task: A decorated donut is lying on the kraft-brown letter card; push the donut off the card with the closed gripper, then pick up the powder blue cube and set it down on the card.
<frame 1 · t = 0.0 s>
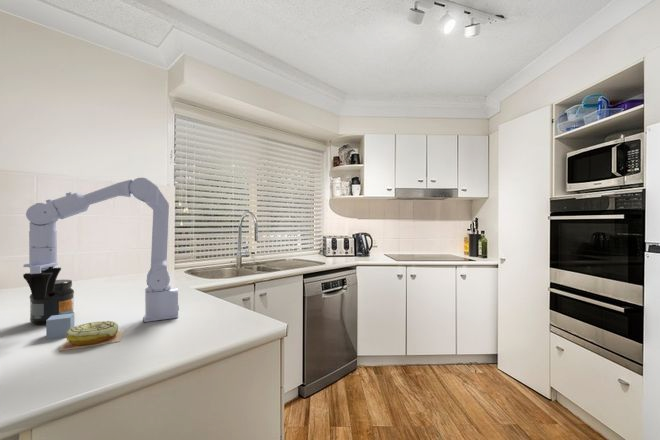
hand: (43, 296, 89), 10 cm above the table, tool pointing down, fingers open, 7 cm apart
supplement container: (52, 321, 101), on the table
powder blue cube: (60, 335, 88), on the table
decorated donut: (93, 340, 83), resting on letter card
letter card: (93, 340, 83), on the table
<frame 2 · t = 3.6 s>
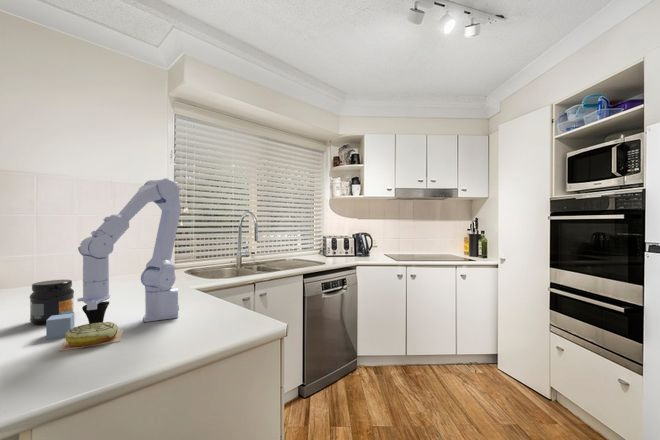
hand: (96, 330, 88), 1 cm above the table, tool pointing down, fingers closed
decorated donut: (92, 341, 82), resting on letter card, touching gripper
everything else where it was.
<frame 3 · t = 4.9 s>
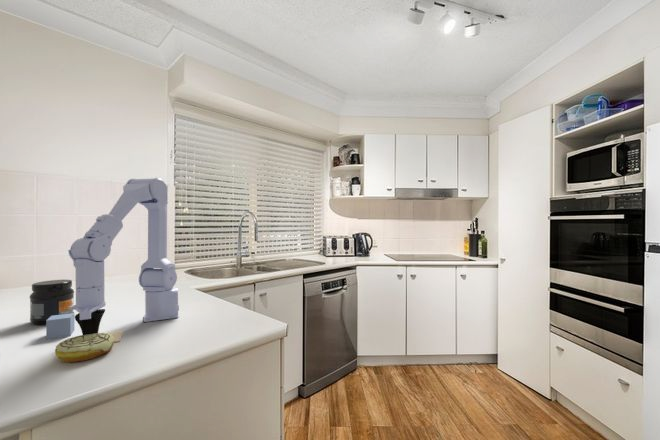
hand: (90, 341, 79), 1 cm above the table, tool pointing down, fingers closed
decorated donut: (86, 355, 74), on the table, touching gripper
everything else where it was.
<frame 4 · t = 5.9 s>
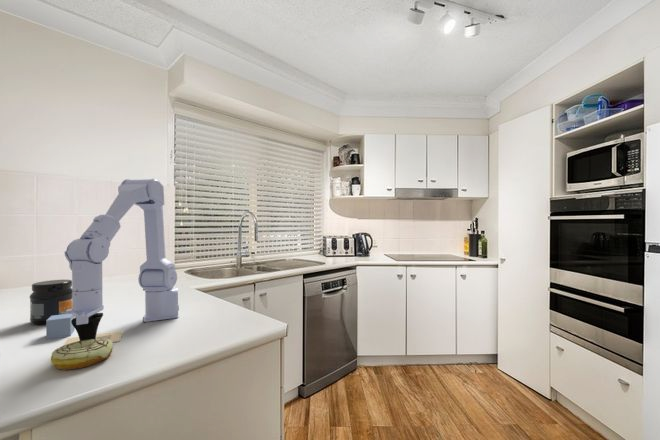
hand: (88, 346, 76), 1 cm above the table, tool pointing down, fingers closed
decorated donut: (83, 362, 71), on the table, touching gripper
everything else where it was.
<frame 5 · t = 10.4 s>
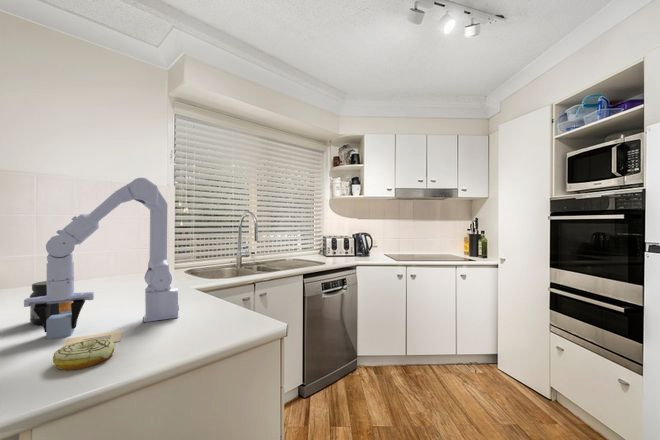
hand: (60, 329, 88), 1 cm above the table, tool pointing down, fingers closed on powder blue cube, 5 cm apart
powder blue cube: (60, 334, 88), on the table, touching gripper
decorated donut: (85, 362, 71), on the table
everything else where it was.
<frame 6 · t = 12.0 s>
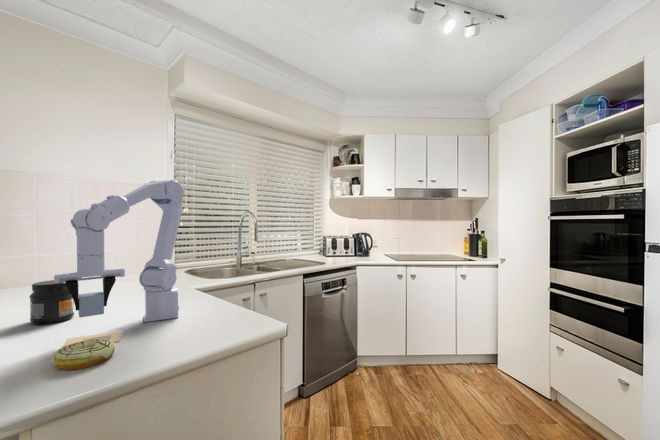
hand: (91, 307, 83), 8 cm above the table, tool pointing down, fingers closed on powder blue cube, 5 cm apart
powder blue cube: (91, 313, 83), point 7 cm above the table, touching gripper
everything else where it was.
when the fingers open (3 cm above the table, at t = 13.7 s): powder blue cube stays where it is, resting on letter card.
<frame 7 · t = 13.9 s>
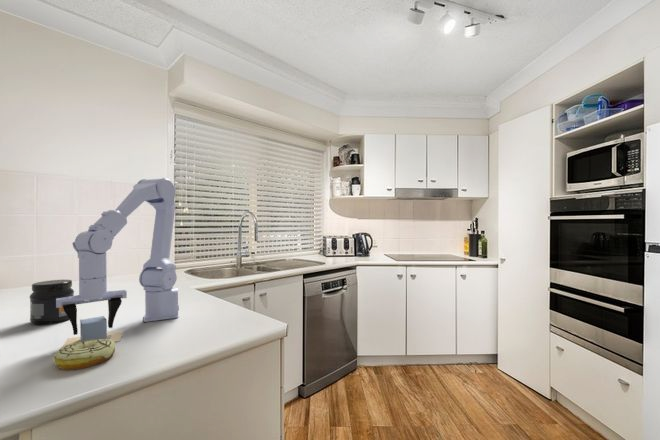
hand: (93, 330, 83), 3 cm above the table, tool pointing down, fingers open, 7 cm apart
powder blue cube: (93, 339, 83), resting on letter card
everything else where it was.
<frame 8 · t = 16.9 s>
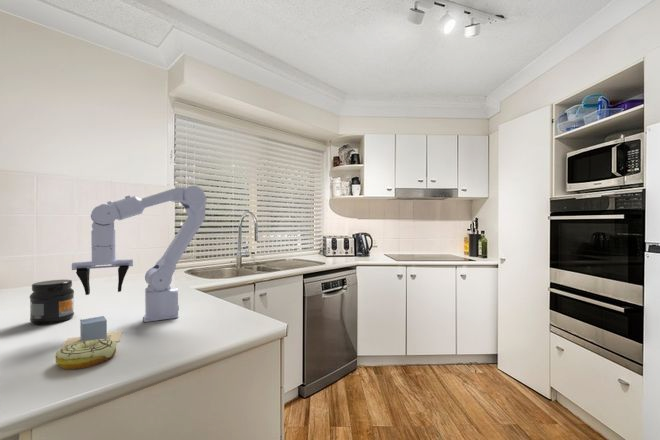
hand: (103, 292, 94), 10 cm above the table, tool pointing down, fingers open, 7 cm apart
nothing on the table moved.
at the end: powder blue cube inside the target area on the letter card (0.1 cm from its centre), point 0.2 cm above the letter card's base; decorated donut touching table; powder blue cube tilted 0° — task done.
